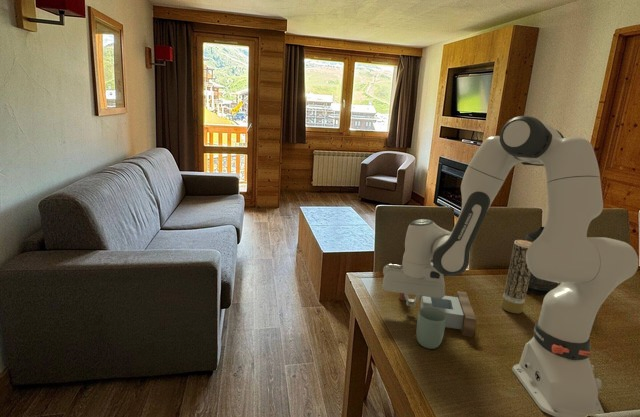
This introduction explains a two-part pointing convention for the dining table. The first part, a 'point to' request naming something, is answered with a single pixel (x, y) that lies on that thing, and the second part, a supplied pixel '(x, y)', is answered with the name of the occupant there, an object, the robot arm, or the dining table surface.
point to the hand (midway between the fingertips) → (410, 305)
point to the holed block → (446, 309)
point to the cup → (430, 327)
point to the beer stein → (535, 283)
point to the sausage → (401, 296)
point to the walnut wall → (466, 314)
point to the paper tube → (517, 279)
